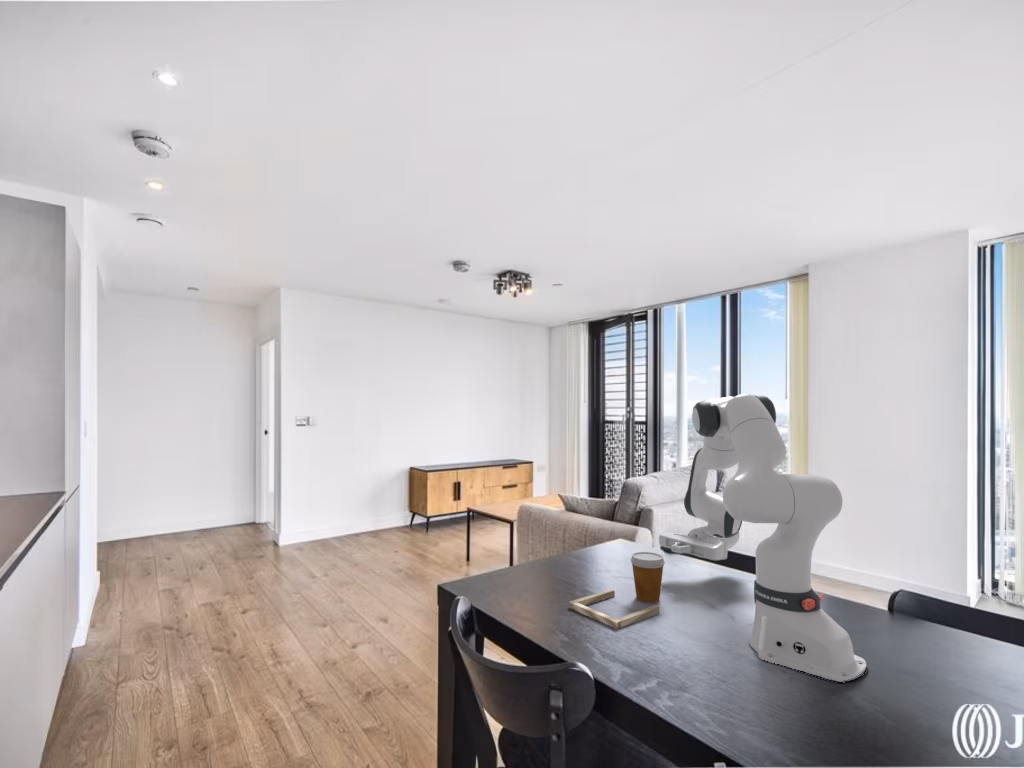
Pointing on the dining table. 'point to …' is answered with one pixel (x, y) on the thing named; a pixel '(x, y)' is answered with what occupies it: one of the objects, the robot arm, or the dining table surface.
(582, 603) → the cup bay
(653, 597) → the disposable coffee cup
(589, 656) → the dining table surface
